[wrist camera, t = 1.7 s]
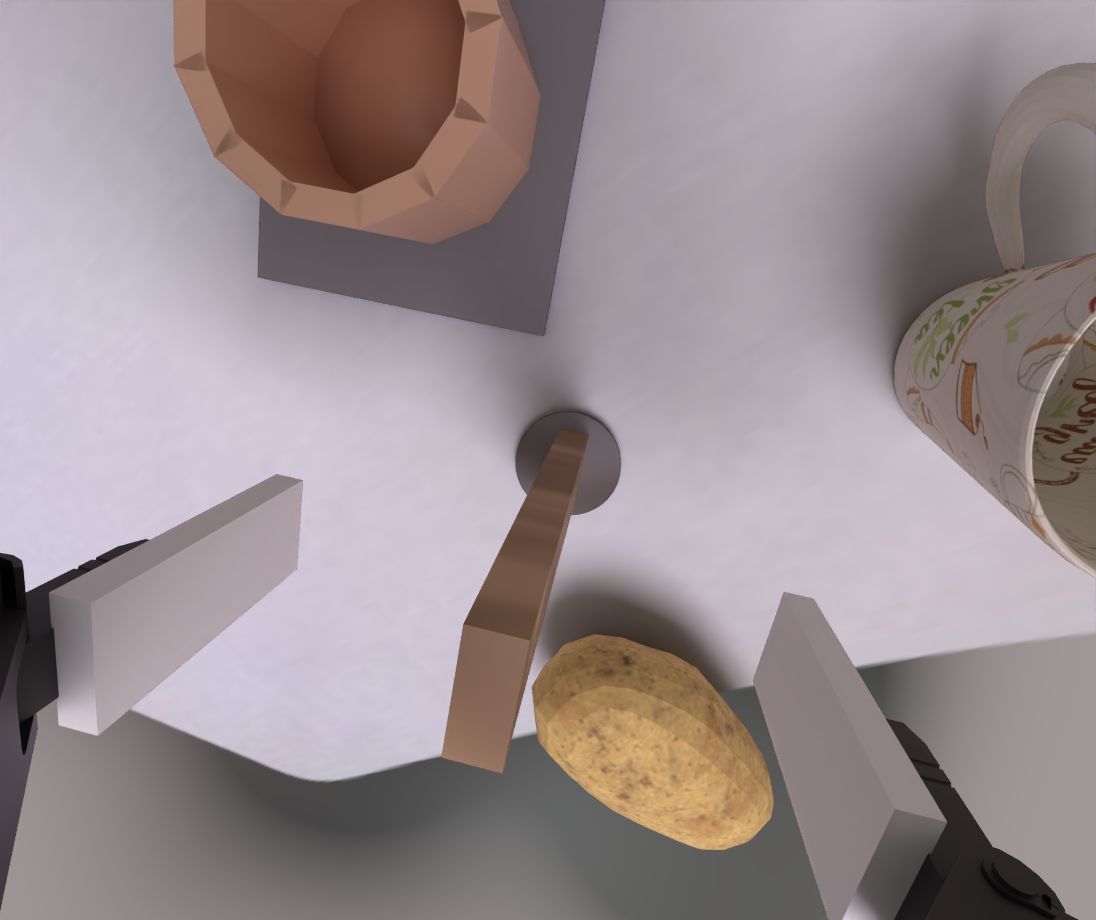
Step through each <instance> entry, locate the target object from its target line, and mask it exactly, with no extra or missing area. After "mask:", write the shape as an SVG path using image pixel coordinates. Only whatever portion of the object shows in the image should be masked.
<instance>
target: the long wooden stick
mask: <svg viewBox="0 0 1096 920" xmlns="http://www.w3.org/2000/svg"><path fill="white" fill-rule="evenodd" d="M620 470H621V458H620V452H619V448H618V445H617V443H616V441H615V439H614V437H613V435H612V434H611V433H610V431H609V430H608V429H607V428H606V427H605V426H604V425H603V424H601V423H600V422H599V421H597V420H596V419H594V418H592V417H590V416H588V415H585V414H582V413H577V412H558V413H554V414H551V415H548V416H545V417H544V418H542V419H540V420H539V421H537V422H536V423H535V424H533V425H532V426H531V427H530V428H529V430H528V431H527V432H526V434H525V435H524V436H523V438H522V440H521V442H520V444H519V446H518V449H517V453H516V473H517V477H518V480H519V482H520V484H521V487H522V488H523V490H524V491H525V493H526V494H527V497H526V499H525V501H524V503H523V505H522V507H521V509H520V511H519V513H518V515H517V517H516V519H515V521H514V523H513V525H512V527H511V529H510V531H509V533H508V535H507V537H506V539H505V541H504V543H503V545H502V547H501V549H500V551H499V553H498V555H497V557H496V559H495V561H494V563H493V566H492V568H491V570H490V572H489V574H488V576H487V578H486V580H485V582H484V584H483V586H482V588H481V590H480V592H479V594H478V596H477V598H476V600H475V602H474V604H473V606H472V608H471V610H470V612H469V614H468V616H467V618H466V620H465V622H464V624H463V630H462V636H461V642H460V648H459V654H458V660H457V666H456V672H455V679H454V685H453V691H452V697H451V703H450V709H449V715H448V721H447V727H446V733H445V739H444V745H443V751H442V757H443V758H446V759H450V760H454V761H457V762H461V763H465V764H469V765H472V766H476V767H480V768H484V769H488V770H491V771H495V772H499V773H503V769H504V765H505V761H506V758H507V754H508V750H509V747H510V743H511V739H512V735H513V731H514V728H515V724H516V720H517V716H518V713H519V709H520V705H521V701H522V698H523V694H524V690H525V686H526V682H527V679H528V675H529V671H530V667H531V664H532V660H533V656H534V652H535V648H536V645H537V641H538V637H539V633H540V630H541V626H542V622H543V618H544V615H545V611H546V607H547V603H548V599H549V596H550V592H551V588H552V584H553V581H554V577H555V573H556V569H557V566H558V562H559V558H560V554H561V550H562V547H563V543H564V539H565V535H566V532H567V528H568V524H569V520H570V517H571V515H578V514H583V513H586V512H589V511H591V510H594V509H596V508H597V507H599V506H600V505H602V504H603V503H604V502H605V501H606V500H607V499H608V498H609V497H610V496H611V494H612V493H613V491H614V490H615V488H616V486H617V483H618V480H619V476H620Z"/></svg>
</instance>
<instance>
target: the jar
mask: <svg viewBox="0 0 1096 920" xmlns="http://www.w3.org/2000/svg"><path fill="white" fill-rule="evenodd" d="M174 67H175V68H176V71H177V73H178V75H179V77H180V80H181V82H182V84H183V86H184V89H185V91H186V93H187V96H188V98H189V100H190V102H191V105H192V107H193V109H194V111H195V114H196V116H197V118H198V120H199V123H200V125H201V127H202V129H203V132H204V134H205V136H206V139H207V141H208V143H209V145H210V148H211V150H212V152H213V154H214V157H216V158H217V159H218V160H219V161H221V162H222V163H223V164H224V165H225V166H226V167H227V168H229V169H230V170H231V171H232V172H233V173H234V174H235V175H237V176H238V177H239V178H240V179H241V180H242V181H243V182H245V183H246V184H247V185H248V186H249V187H250V188H251V189H253V190H254V191H255V192H256V193H257V194H258V195H259V196H261V197H262V198H263V199H264V200H265V201H266V202H267V203H269V204H270V205H271V206H272V207H273V208H274V209H275V210H277V211H278V212H279V213H280V214H281V215H286V216H291V217H296V218H301V219H307V220H312V221H317V222H322V223H327V224H332V225H338V226H343V227H348V228H353V229H358V230H362V231H367V232H372V233H377V234H383V235H388V236H393V237H398V238H403V239H409V240H414V241H419V242H424V243H429V244H435V243H437V242H440V241H442V240H445V239H447V238H450V237H452V236H455V235H457V234H460V233H462V232H465V231H467V230H470V229H472V228H475V227H477V226H480V225H482V224H485V223H487V222H490V220H491V219H492V217H493V216H494V215H495V213H496V212H497V211H498V209H499V208H500V207H501V205H502V204H503V203H504V201H505V200H506V199H507V197H508V196H509V195H510V193H511V192H512V191H513V189H514V188H515V187H516V185H517V184H518V183H519V181H520V180H521V179H522V177H523V176H524V175H525V173H526V172H527V171H528V169H529V166H530V160H531V154H532V147H533V141H534V135H535V129H536V122H537V116H538V110H539V104H540V97H541V94H540V92H539V89H538V85H537V82H536V79H535V76H534V73H533V69H532V66H531V63H530V60H529V56H528V53H527V50H526V47H525V44H524V40H523V37H522V34H521V31H520V28H519V23H518V21H517V19H516V17H515V14H514V12H513V10H512V8H511V5H510V3H509V1H508V0H174Z"/></svg>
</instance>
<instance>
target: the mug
mask: <svg viewBox="0 0 1096 920" xmlns="http://www.w3.org/2000/svg"><path fill="white" fill-rule="evenodd" d="M1061 120H1069V121H1073V122H1076V123H1079V124H1081V125H1083V126H1085V127H1087V128H1089V129H1090V130H1092V131H1093V132H1094V133H1096V63H1076V64H1070V65H1064V66H1060V67H1058V68H1055V69H1052V70H1050V71H1048V72H1046V73H1044V74H1043V75H1041V76H1040V77H1038V78H1036V79H1035V80H1034V81H1032V82H1031V83H1030V84H1029V85H1028V86H1026V87H1025V88H1024V89H1023V90H1022V91H1021V92H1020V94H1019V95H1018V96H1017V97H1016V99H1015V100H1014V101H1013V103H1012V104H1011V106H1010V108H1009V109H1008V111H1007V113H1006V114H1005V116H1004V118H1003V120H1002V122H1001V124H1000V127H999V129H998V131H997V135H996V138H995V142H994V146H993V151H992V156H991V161H990V166H989V171H988V177H987V182H986V191H985V203H986V208H987V213H988V218H989V222H990V226H991V229H992V233H993V237H994V240H995V244H996V248H997V251H998V254H999V257H1000V260H1001V262H1002V265H1003V268H1004V270H1005V272H1006V274H1004V275H1000V276H995V277H991V278H987V279H983V280H980V281H976V282H972V283H969V284H967V285H964V286H961V287H959V288H957V289H955V290H952V291H951V292H949V293H947V294H945V295H943V296H942V297H940V298H939V299H937V300H936V301H935V302H933V303H932V304H931V305H930V306H928V307H927V308H926V309H925V310H924V311H923V312H922V313H921V314H920V315H919V316H918V317H917V318H916V320H915V321H914V322H913V323H912V325H911V326H910V327H909V329H908V331H907V332H906V334H905V336H904V338H903V340H902V342H901V344H900V346H899V349H898V352H897V355H896V360H895V365H894V385H895V390H896V394H897V398H898V400H899V403H900V405H901V407H902V409H903V410H904V412H905V414H906V415H907V416H908V418H909V419H910V420H911V421H912V422H913V423H914V424H915V425H916V426H917V427H918V428H919V429H920V430H921V431H922V432H923V433H924V434H925V435H926V436H927V437H929V438H930V439H931V440H932V441H933V442H934V443H935V444H936V445H937V446H938V447H940V448H941V449H942V450H943V451H944V452H945V453H946V454H947V455H948V456H949V457H951V458H952V459H953V460H954V461H955V462H956V463H957V464H958V465H959V466H960V467H962V468H963V469H964V470H965V471H966V472H967V473H968V474H969V475H970V476H971V477H973V478H974V479H975V480H976V481H977V482H978V483H979V484H980V485H981V486H982V487H984V488H985V489H986V490H987V491H988V492H989V493H990V494H991V495H992V496H994V497H995V498H996V499H997V500H998V501H999V502H1000V503H1001V504H1002V505H1003V506H1005V507H1006V508H1007V509H1008V510H1009V511H1010V512H1011V513H1012V514H1013V515H1014V516H1016V517H1017V518H1018V519H1019V520H1020V521H1021V522H1022V523H1023V524H1024V525H1025V526H1027V527H1028V528H1029V529H1030V530H1031V531H1032V532H1033V533H1034V534H1035V535H1036V536H1038V537H1039V538H1040V539H1041V540H1042V541H1043V542H1044V543H1046V544H1047V545H1048V546H1049V547H1050V548H1051V549H1053V550H1054V551H1055V552H1056V553H1058V554H1059V555H1060V556H1062V557H1063V558H1064V559H1065V560H1067V561H1068V562H1070V563H1071V564H1073V565H1074V566H1076V567H1077V568H1079V569H1080V570H1082V571H1084V572H1085V573H1087V574H1088V575H1090V576H1092V577H1094V578H1096V253H1093V254H1089V255H1085V256H1081V257H1076V258H1072V259H1068V260H1064V261H1059V262H1055V263H1051V264H1047V265H1042V266H1038V267H1034V268H1030V269H1025V253H1024V240H1023V231H1022V223H1021V214H1020V197H1019V196H1020V183H1021V173H1022V169H1023V165H1024V161H1025V158H1026V156H1027V153H1028V151H1029V149H1030V147H1031V145H1032V144H1033V142H1034V141H1035V139H1036V138H1037V137H1038V136H1039V134H1040V133H1041V132H1042V131H1043V130H1044V129H1045V128H1046V127H1047V126H1048V125H1050V124H1052V123H1054V122H1057V121H1061ZM1024 269H1025V270H1024Z"/></svg>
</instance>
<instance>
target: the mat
mask: <svg viewBox="0 0 1096 920" xmlns="http://www.w3.org/2000/svg"><path fill="white" fill-rule="evenodd" d="M508 1H509V3H510V5H511V8H512V10H513V12H514V14H515V17H516V19H517V21H518V23H519V28H520V31H521V34H522V37H523V40H524V44H525V47H526V50H527V53H528V56H529V60H530V63H531V66H532V69H533V73H534V76H535V79H536V82H537V85H538V89H539V92H540V94H541V97H540V104H539V110H538V116H537V122H536V129H535V135H534V141H533V147H532V154H531V160H530V166H529V169H528V171H527V172H526V173H525V175H524V176H523V177H522V179H521V180H520V181H519V183H518V184H517V185H516V187H515V188H514V189H513V191H512V192H511V193H510V195H509V196H508V197H507V199H506V200H505V201H504V203H503V204H502V205H501V207H500V208H499V209H498V211H497V212H496V213H495V215H494V216H493V217H492V219H491V220H490V222H487V223H485V224H482V225H480V226H477V227H475V228H472V229H470V230H467V231H465V232H462V233H460V234H457V235H455V236H452V237H450V238H447V239H445V240H442V241H440V242H437V243H435V244H429V243H424V242H419V241H414V240H409V239H403V238H398V237H393V236H388V235H383V234H377V233H372V232H367V231H362V230H358V229H353V228H348V227H343V226H338V225H332V224H327V223H322V222H317V221H312V220H307V219H301V218H296V217H291V216H286V215H281V214H280V213H279V212H278V211H277V210H275V209H274V208H273V207H272V206H271V205H270V204H269V203H267V202H266V201H265V200H264V199H263V198H262V197H261V196H260V216H259V249H258V277H259V278H264V279H268V280H273V281H278V282H283V283H288V284H293V285H297V286H302V287H307V288H312V289H317V290H322V291H326V292H331V293H336V294H341V295H346V296H351V297H355V298H360V299H365V300H370V301H375V302H380V303H384V304H389V305H394V306H399V307H404V308H409V309H413V310H418V311H423V312H428V313H433V314H438V315H442V316H447V317H452V318H457V319H462V320H467V321H471V322H476V323H481V324H486V325H491V326H496V327H500V328H505V329H510V330H515V331H520V332H525V333H529V334H534V335H539V336H544V334H545V329H546V323H547V318H548V312H549V307H550V301H551V296H552V290H553V285H554V279H555V274H556V268H557V263H558V257H559V252H560V246H561V241H562V235H563V230H564V224H565V219H566V213H567V208H568V202H569V197H570V192H571V186H572V181H573V175H574V170H575V164H576V159H577V153H578V148H579V142H580V137H581V131H582V126H583V120H584V115H585V109H586V104H587V98H588V93H589V87H590V82H591V76H592V71H593V65H594V60H595V55H596V49H597V44H598V38H599V33H600V27H601V22H602V16H603V11H604V5H605V0H508Z"/></svg>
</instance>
